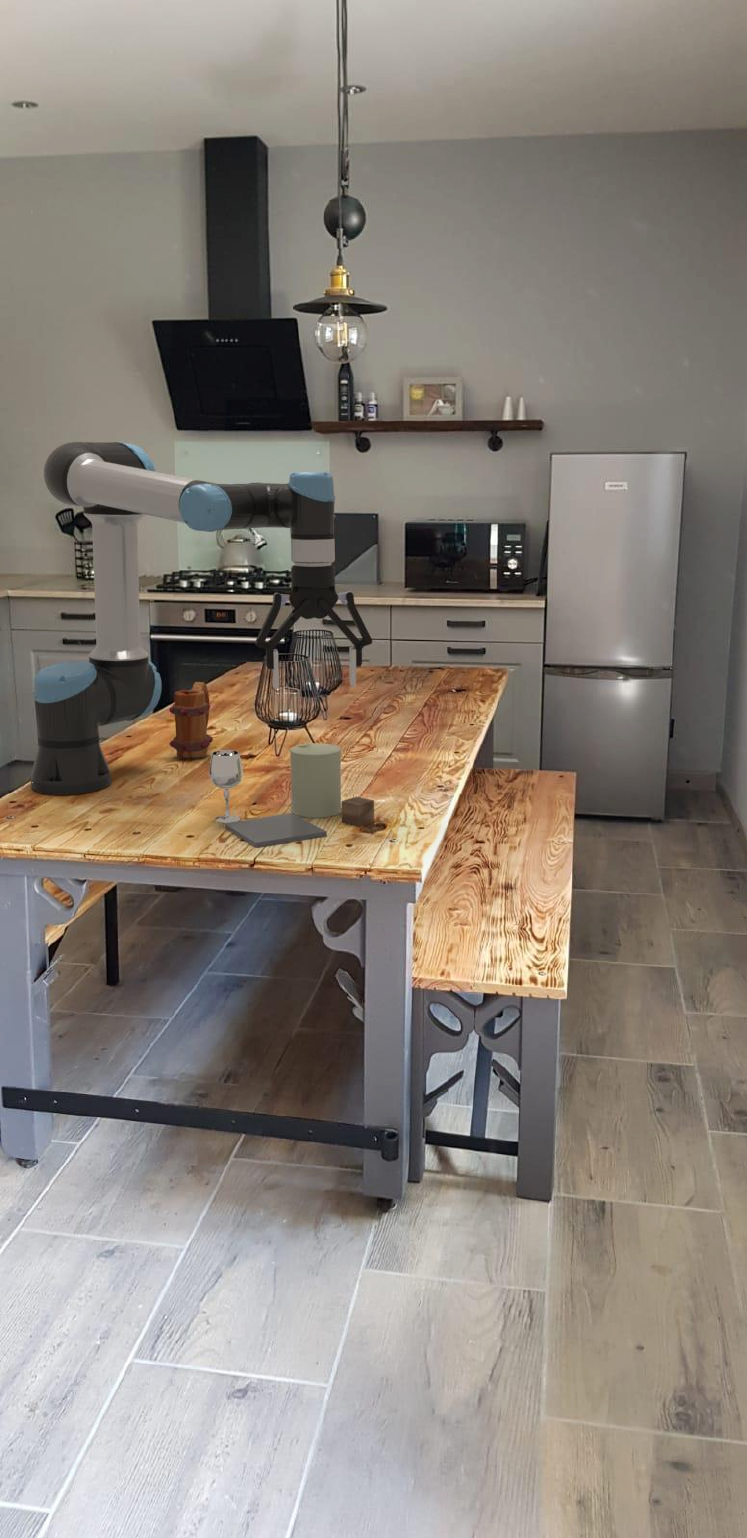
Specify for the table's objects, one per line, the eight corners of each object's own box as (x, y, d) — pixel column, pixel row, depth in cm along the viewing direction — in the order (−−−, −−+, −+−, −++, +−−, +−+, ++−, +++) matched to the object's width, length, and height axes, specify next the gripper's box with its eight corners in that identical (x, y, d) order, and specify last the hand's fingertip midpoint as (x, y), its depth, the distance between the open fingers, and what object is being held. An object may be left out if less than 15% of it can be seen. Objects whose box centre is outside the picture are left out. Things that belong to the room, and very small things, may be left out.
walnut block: (359, 827, 211) (358, 805, 210) (341, 823, 213) (341, 801, 212) (374, 822, 214) (374, 800, 213) (356, 818, 216) (356, 796, 215)
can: (314, 801, 227) (313, 738, 224) (352, 810, 221) (352, 745, 218) (280, 812, 220) (278, 747, 217) (318, 821, 214) (317, 754, 211)
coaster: (255, 847, 199) (255, 842, 199) (224, 827, 210) (224, 823, 210) (326, 835, 206) (326, 831, 205) (292, 817, 216) (292, 812, 216)
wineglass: (245, 814, 218) (243, 749, 215) (242, 823, 213) (240, 756, 210) (212, 815, 218) (210, 749, 215) (209, 824, 212) (207, 757, 209)
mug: (202, 762, 256) (200, 692, 253) (165, 761, 258) (162, 690, 254) (224, 747, 270) (222, 680, 267) (189, 746, 272) (187, 679, 268)
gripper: (380, 561, 215) (380, 680, 221) (238, 563, 211) (241, 684, 216) (388, 564, 208) (388, 687, 213) (241, 566, 204) (244, 692, 209)
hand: (314, 686), depth 215 cm, fingers open, 13 cm apart
